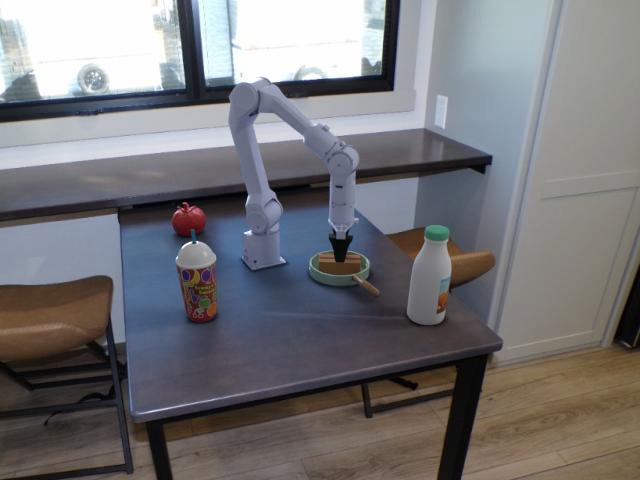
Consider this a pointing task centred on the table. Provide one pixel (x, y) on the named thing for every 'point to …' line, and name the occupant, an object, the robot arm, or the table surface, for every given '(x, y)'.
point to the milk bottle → (430, 278)
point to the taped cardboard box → (339, 265)
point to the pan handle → (366, 285)
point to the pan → (337, 279)
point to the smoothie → (198, 279)
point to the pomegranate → (188, 220)
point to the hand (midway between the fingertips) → (340, 254)
